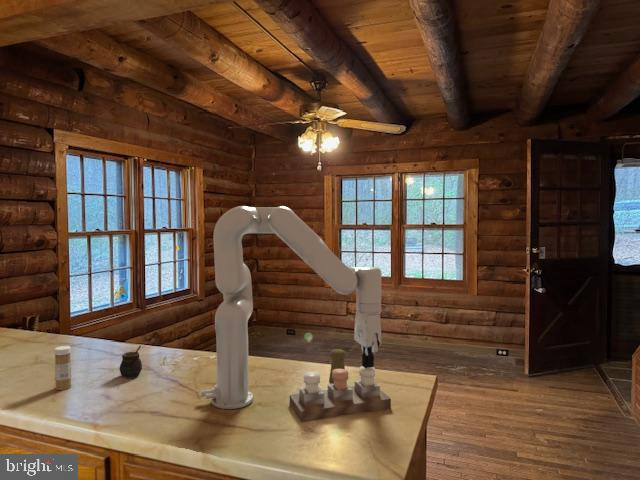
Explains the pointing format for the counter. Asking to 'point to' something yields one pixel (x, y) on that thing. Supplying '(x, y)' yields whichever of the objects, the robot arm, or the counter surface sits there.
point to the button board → (338, 401)
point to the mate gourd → (130, 364)
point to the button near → (311, 382)
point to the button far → (367, 376)
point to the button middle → (340, 378)
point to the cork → (337, 361)
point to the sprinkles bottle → (62, 367)
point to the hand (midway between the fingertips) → (367, 366)
